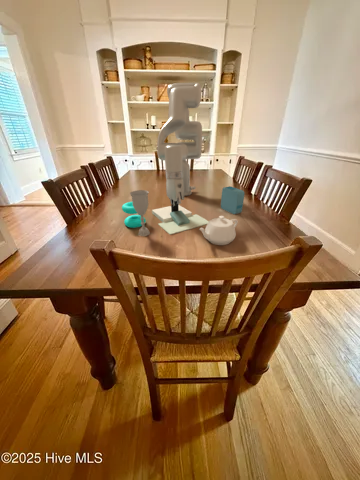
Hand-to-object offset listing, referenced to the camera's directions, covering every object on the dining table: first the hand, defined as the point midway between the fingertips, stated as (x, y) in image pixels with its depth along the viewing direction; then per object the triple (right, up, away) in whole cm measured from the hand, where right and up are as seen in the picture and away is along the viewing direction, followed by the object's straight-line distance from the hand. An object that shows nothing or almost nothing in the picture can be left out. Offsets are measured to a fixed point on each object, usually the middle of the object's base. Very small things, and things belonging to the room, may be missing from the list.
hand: (175, 212), depth 100 cm
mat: (+5, -6, -5) cm, 9 cm away
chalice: (-13, -11, -13) cm, 22 cm away
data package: (+30, +2, +8) cm, 31 cm away
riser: (-2, -1, +4) cm, 5 cm away
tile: (+2, -4, -4) cm, 6 cm away
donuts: (-19, -6, -5) cm, 20 cm away
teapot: (+18, -14, -19) cm, 29 cm away
